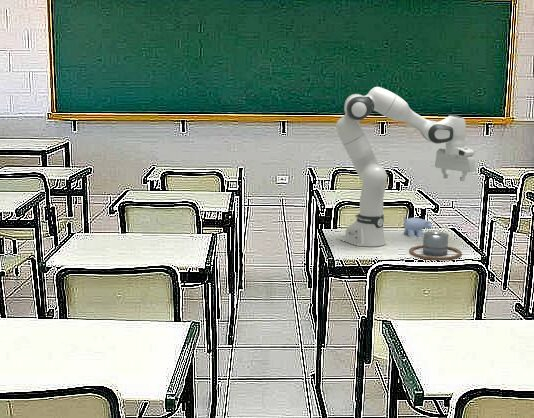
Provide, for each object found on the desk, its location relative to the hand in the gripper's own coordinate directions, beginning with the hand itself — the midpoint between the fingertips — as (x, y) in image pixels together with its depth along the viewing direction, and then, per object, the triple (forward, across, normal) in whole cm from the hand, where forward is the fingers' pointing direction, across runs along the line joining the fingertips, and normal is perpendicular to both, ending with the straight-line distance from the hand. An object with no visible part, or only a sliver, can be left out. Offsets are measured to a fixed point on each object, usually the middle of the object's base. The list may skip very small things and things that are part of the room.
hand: (453, 179), depth 356 cm
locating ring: (+31, +6, -20) cm, 37 cm away
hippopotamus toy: (+31, -22, +2) cm, 39 cm away
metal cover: (+31, +6, -20) cm, 38 cm away
